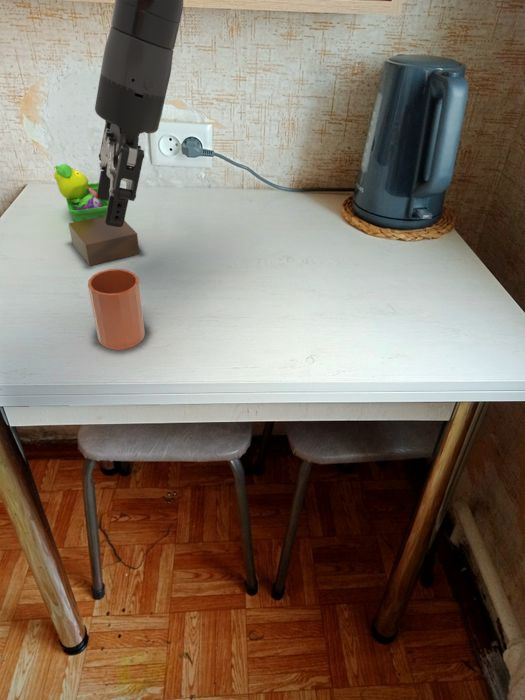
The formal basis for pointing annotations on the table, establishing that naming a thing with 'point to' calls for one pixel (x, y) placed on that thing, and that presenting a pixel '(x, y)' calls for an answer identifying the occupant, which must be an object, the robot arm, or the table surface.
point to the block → (103, 240)
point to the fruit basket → (79, 194)
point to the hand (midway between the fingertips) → (108, 211)
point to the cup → (117, 308)
